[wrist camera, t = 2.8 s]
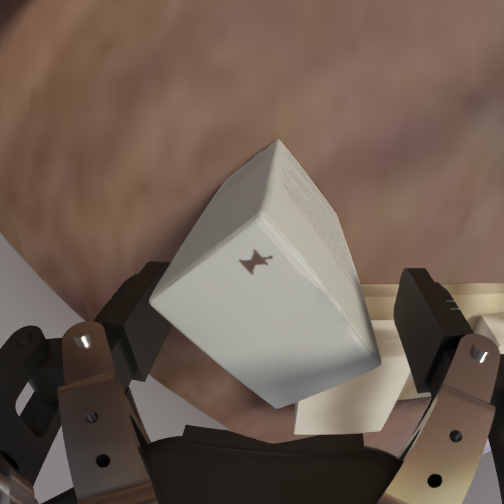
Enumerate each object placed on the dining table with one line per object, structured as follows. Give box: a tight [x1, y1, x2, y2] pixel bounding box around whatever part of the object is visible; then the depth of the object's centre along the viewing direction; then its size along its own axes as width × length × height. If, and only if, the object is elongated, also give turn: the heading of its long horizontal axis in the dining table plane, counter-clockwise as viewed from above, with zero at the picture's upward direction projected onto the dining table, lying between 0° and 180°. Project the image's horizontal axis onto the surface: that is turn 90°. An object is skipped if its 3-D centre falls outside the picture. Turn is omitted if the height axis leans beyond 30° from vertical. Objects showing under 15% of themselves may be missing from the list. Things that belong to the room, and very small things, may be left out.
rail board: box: [266, 283, 504, 434], centre depth 20 cm, size 26×12×6 cm, turn 92°
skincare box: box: [149, 139, 381, 409], centre depth 13 cm, size 6×4×12 cm
